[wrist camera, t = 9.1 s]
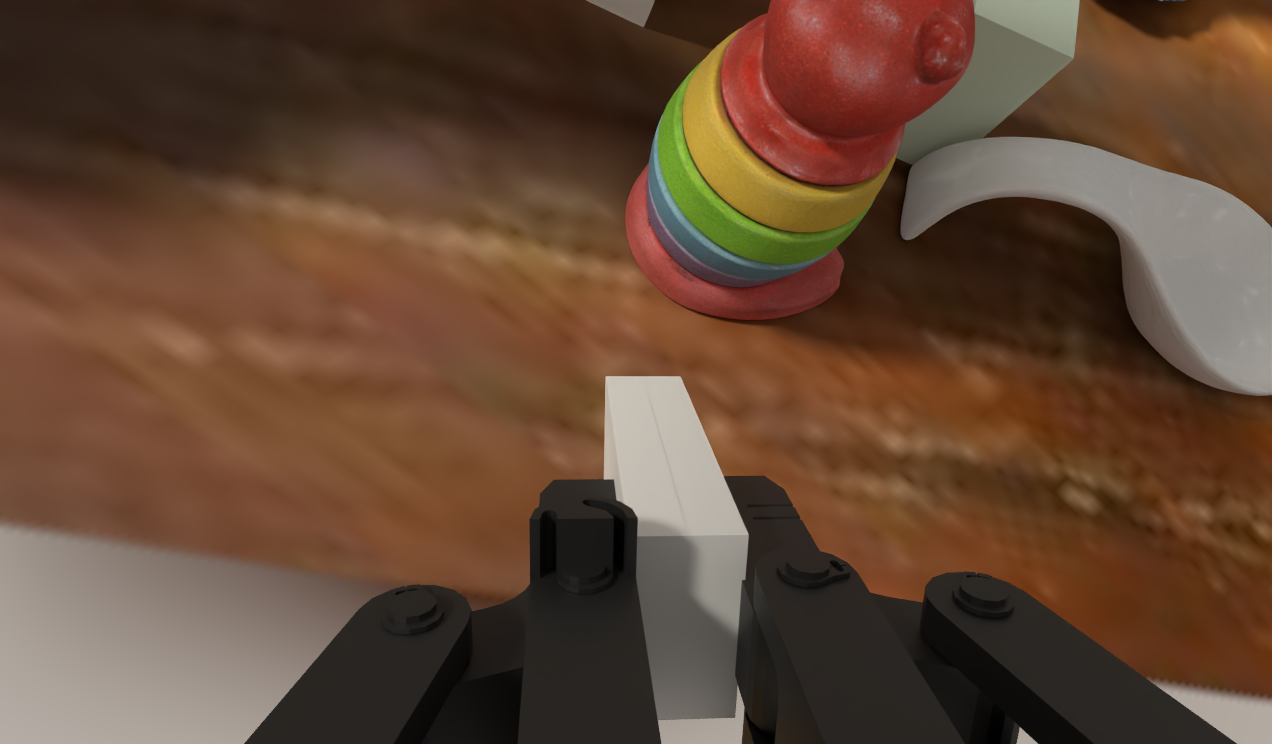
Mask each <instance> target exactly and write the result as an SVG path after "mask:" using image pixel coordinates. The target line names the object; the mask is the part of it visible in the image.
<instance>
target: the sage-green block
mask: <svg viewBox="0 0 1272 744" xmlns="http://www.w3.org/2000/svg"><path fill="white" fill-rule="evenodd" d="M1079 1H1080V0H973V4H974V13H975V43H974V50H973V54H972V58H971V61H970V63H969V65H968V68H967V69H966V71H965V73H964V74H963V76H962V77H961V79H960V80H959V81H958V82H957V84H956V85H955V86H954V87H953V88H952V89H951V90H950V91H949V92H948V93H947V94H946V95H945V96H944V97H943V98H942V99H941V100H939V101H938V102H937V103H935V104H934V105H933V106H932V107H930V108H929V109H928V110H926V111H925V112H923V113H922V114H921V115H919V116H918V117H916V118H914V119H912V120H911V121H909V122H907V123H905V129H904V134H903V138H902V141H901V144H900V146H899V149H898V152H897V155H896V158H897V159H900V160H902V161H904V162H907V163H909V164H911V165H914V164H915V163H916V162H917V161H919V160H920V159H921V158H923V157H924V156H926V155H928V154H930V153H932V152H934V151H936V150H938V149H941V148H943V147H946V146H949V145H952V144H956V143H961V142H965V141H971V140H977V139H983V138H984V137H985V136H986V135H987V134H988V133H989V132H991V131H992V130H993V129H994V128H995V127H996V126H997V125H998V124H1000V123H1001V122H1002V121H1003V120H1004V119H1005V118H1006V117H1008V116H1009V115H1010V114H1011V113H1012V112H1013V111H1014V110H1016V109H1017V108H1018V107H1019V106H1020V105H1021V104H1022V103H1024V102H1025V101H1026V100H1027V99H1028V98H1029V97H1030V96H1032V95H1033V94H1034V93H1035V92H1036V91H1037V90H1038V89H1040V88H1041V87H1042V86H1043V85H1044V84H1045V83H1046V82H1047V81H1049V80H1050V79H1051V78H1052V77H1053V76H1054V75H1055V74H1057V73H1058V72H1059V71H1060V70H1061V69H1062V68H1063V67H1065V66H1066V65H1067V64H1068V63H1069V62H1070V61H1071V60H1073V59H1074V52H1075V42H1076V31H1077V21H1078V11H1079Z"/></svg>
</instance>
